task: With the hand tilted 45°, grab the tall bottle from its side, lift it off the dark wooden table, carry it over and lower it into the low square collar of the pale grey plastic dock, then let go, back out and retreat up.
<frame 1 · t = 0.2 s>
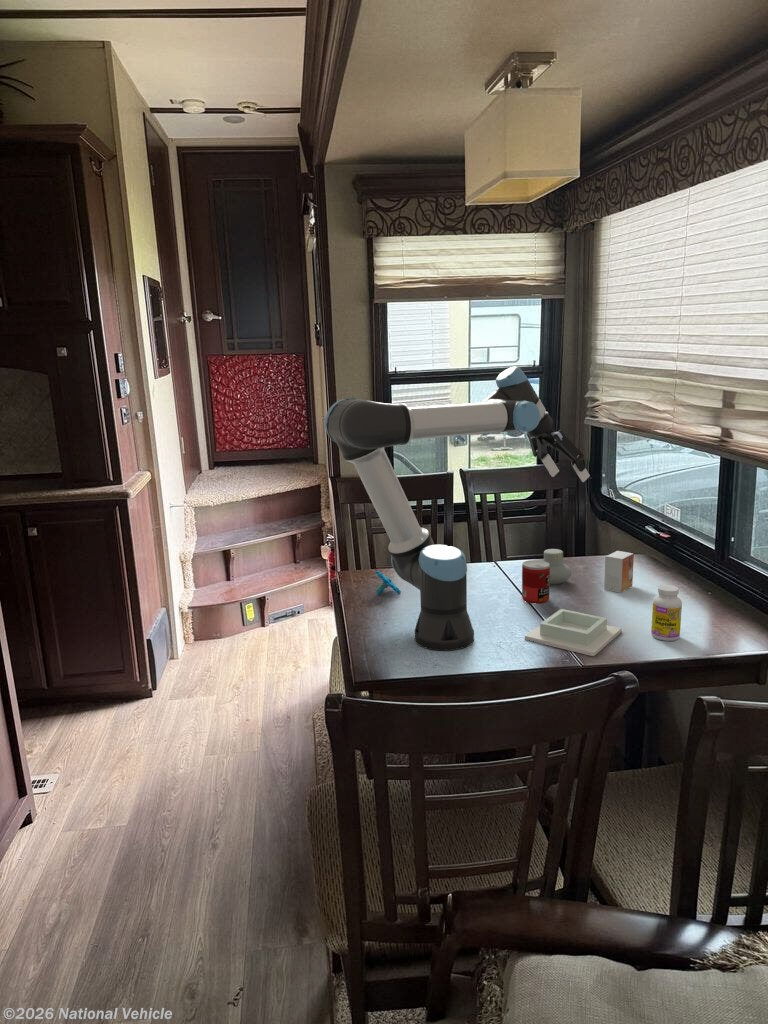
hand: (570, 476, 197), 36 cm above the table, tool tilted 35°, fingers open, 13 cm apart
canned food: (535, 600, 202), on the table
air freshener: (552, 582, 217), on the table
dock: (573, 635, 175), on the table
supplement bottle: (665, 637, 172), on the table
small box: (618, 588, 209), on the table
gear: (388, 594, 212), on the table
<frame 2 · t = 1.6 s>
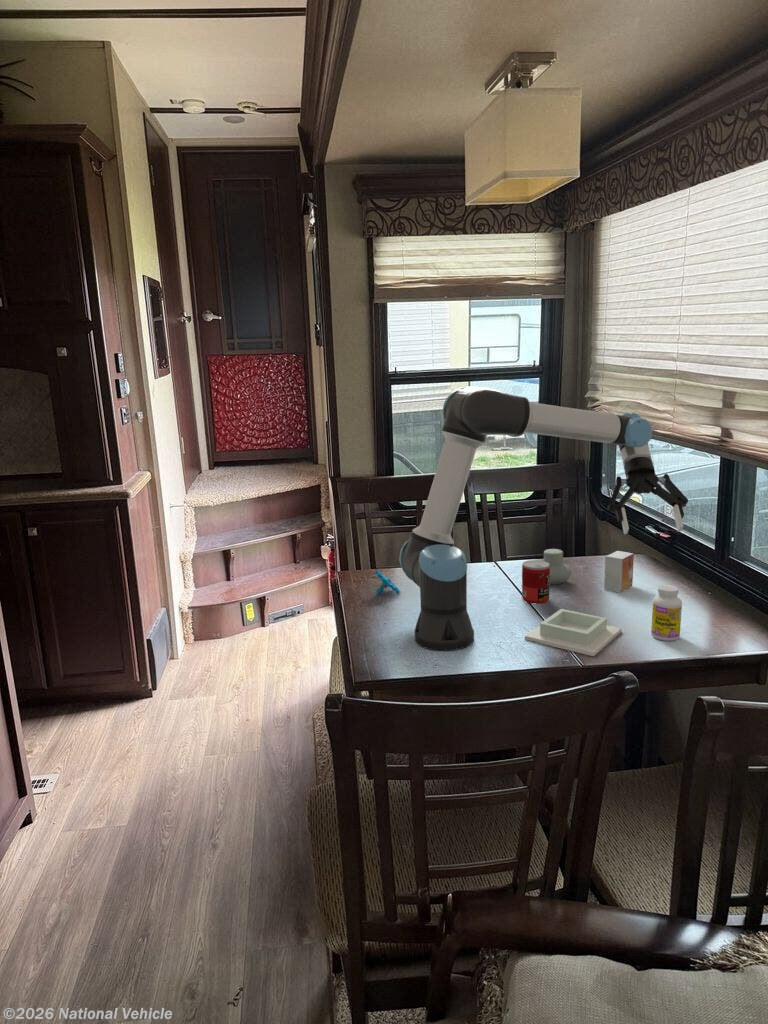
hand: (653, 530, 178), 25 cm above the table, tool tilted 45°, fingers open, 13 cm apart
nothing on the table moved.
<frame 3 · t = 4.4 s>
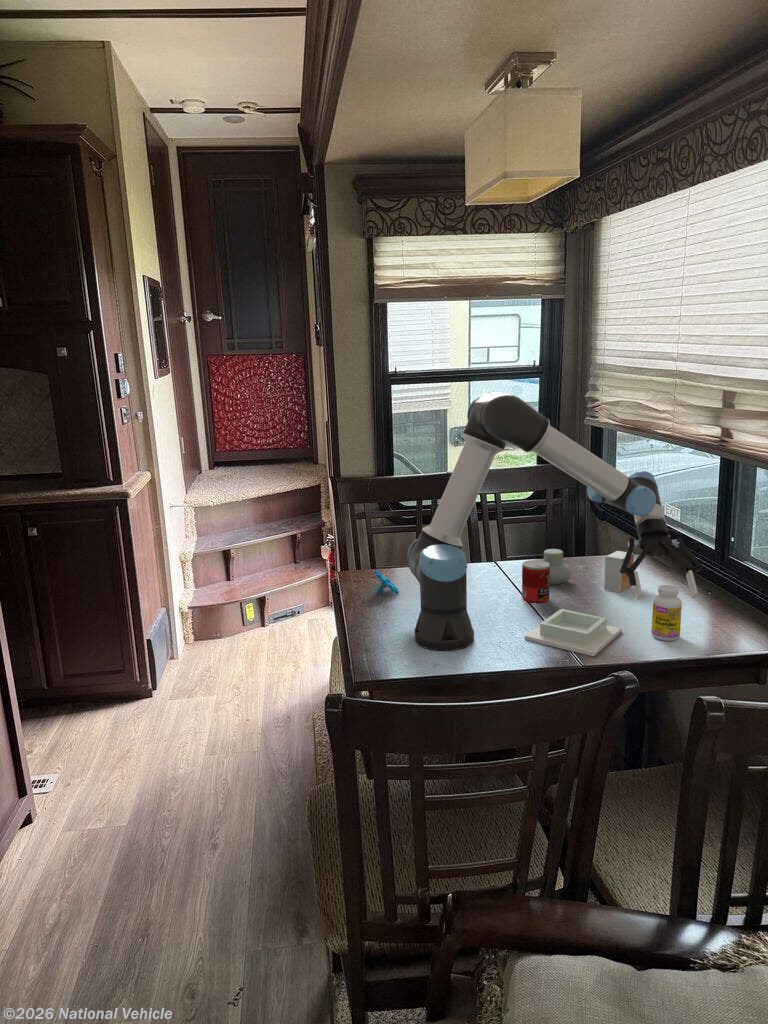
hand: (667, 596, 173), 9 cm above the table, tool tilted 45°, fingers open, 13 cm apart
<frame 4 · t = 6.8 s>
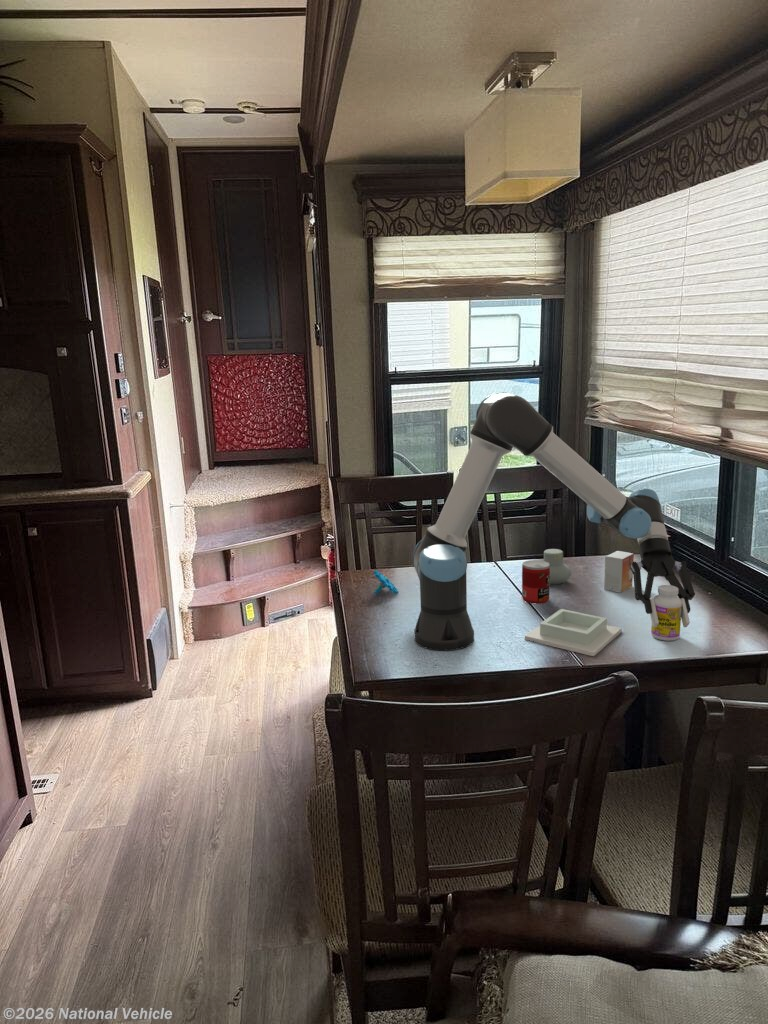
hand: (671, 625, 168), 4 cm above the table, tool tilted 45°, fingers closed on supplement bottle, 7 cm apart
supplement bottle: (665, 637, 172), on the table, touching gripper
everything else where it was.
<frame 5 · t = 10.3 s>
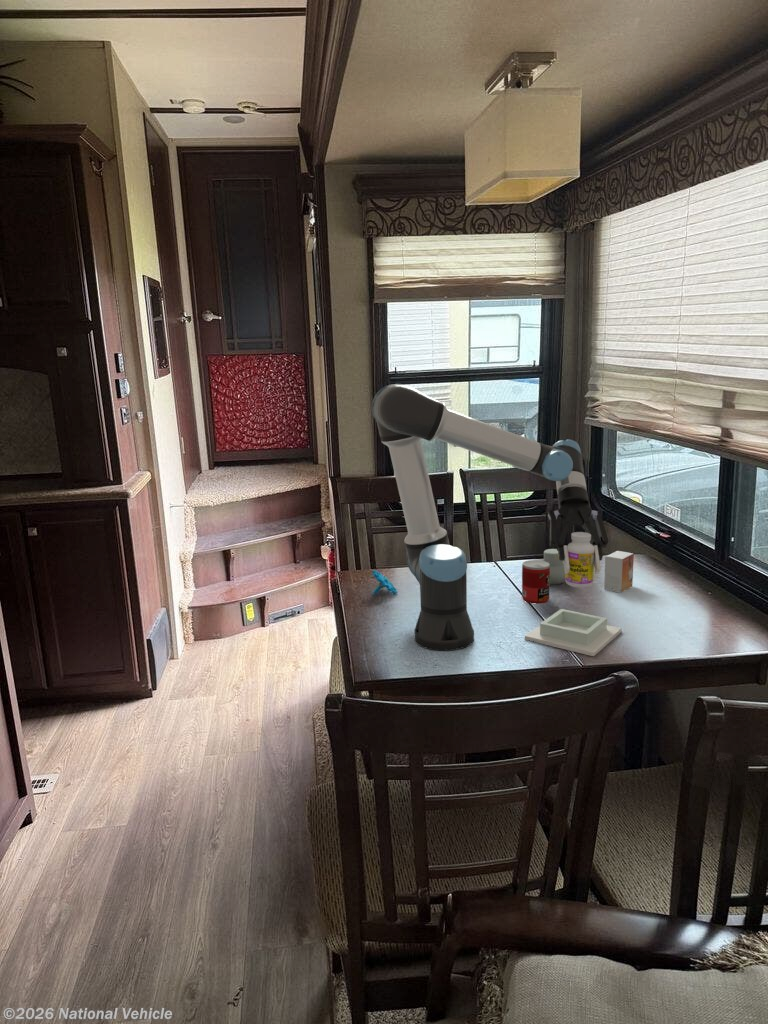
hand: (582, 571, 167), 18 cm above the table, tool tilted 45°, fingers closed on supplement bottle, 7 cm apart
supplement bottle: (579, 584, 172), point 14 cm above the table, touching gripper
when the fingers open (7 cm above the table, at t = 14.0 s): supplement bottle drops 1 cm, resting on dock.
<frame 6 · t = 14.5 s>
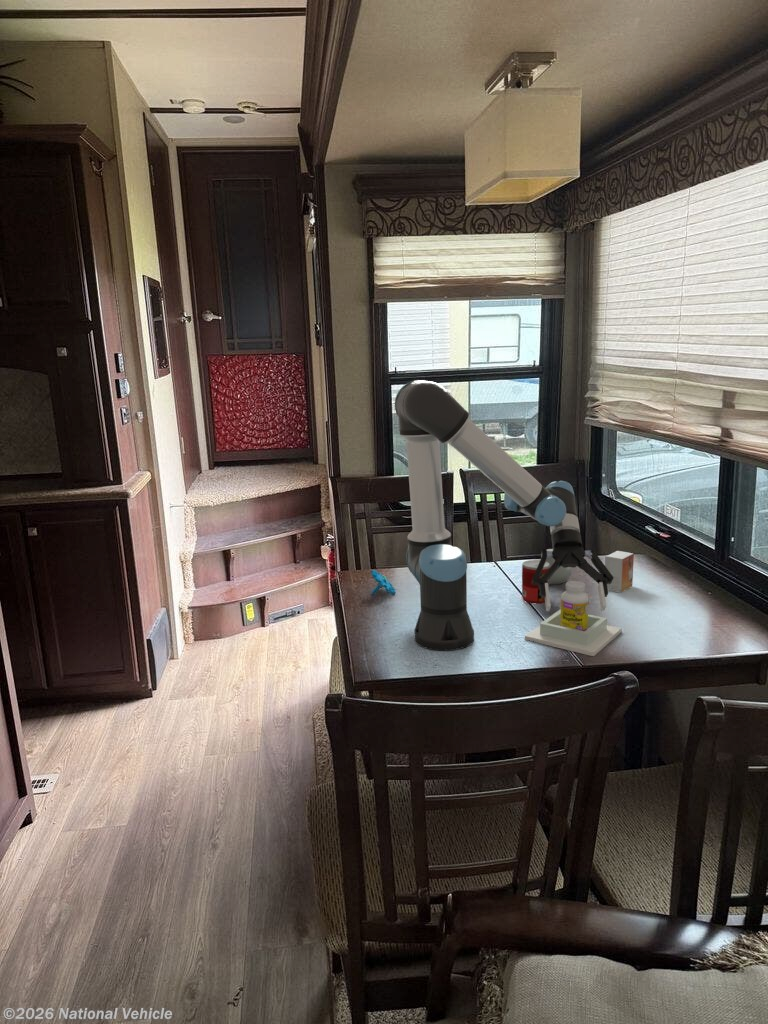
hand: (576, 608, 171), 8 cm above the table, tool tilted 45°, fingers open, 13 cm apart
supplement bottle: (573, 632, 175), point 1 cm above the table, touching dock
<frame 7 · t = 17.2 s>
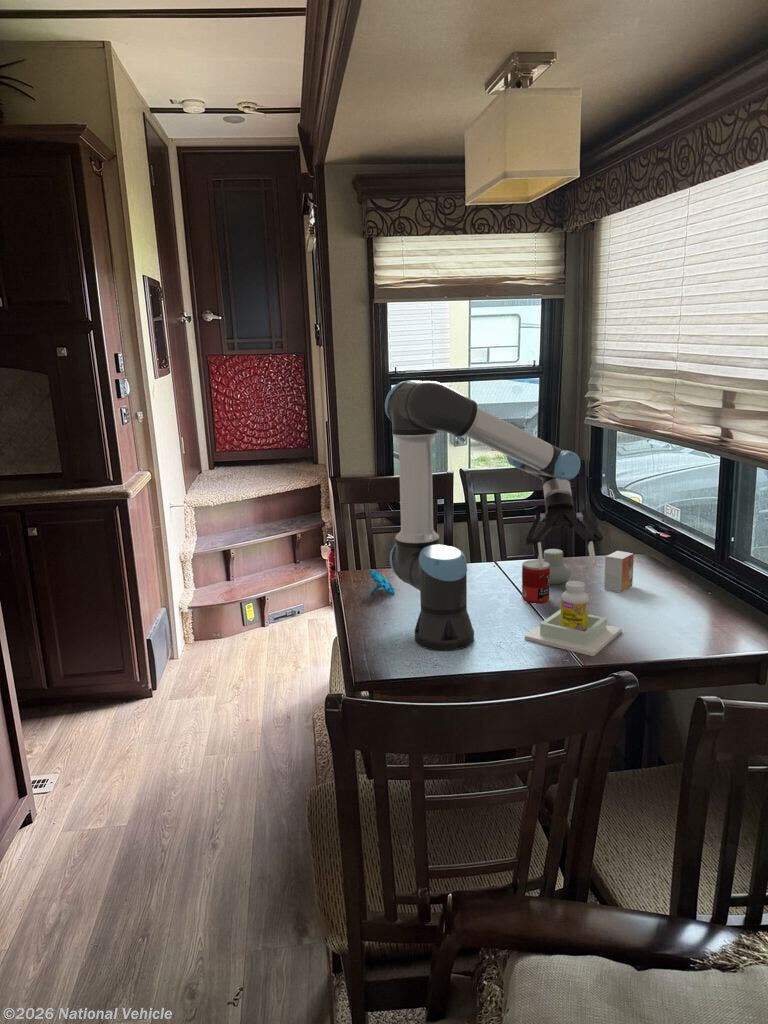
hand: (567, 566, 181), 16 cm above the table, tool tilted 45°, fingers open, 13 cm apart
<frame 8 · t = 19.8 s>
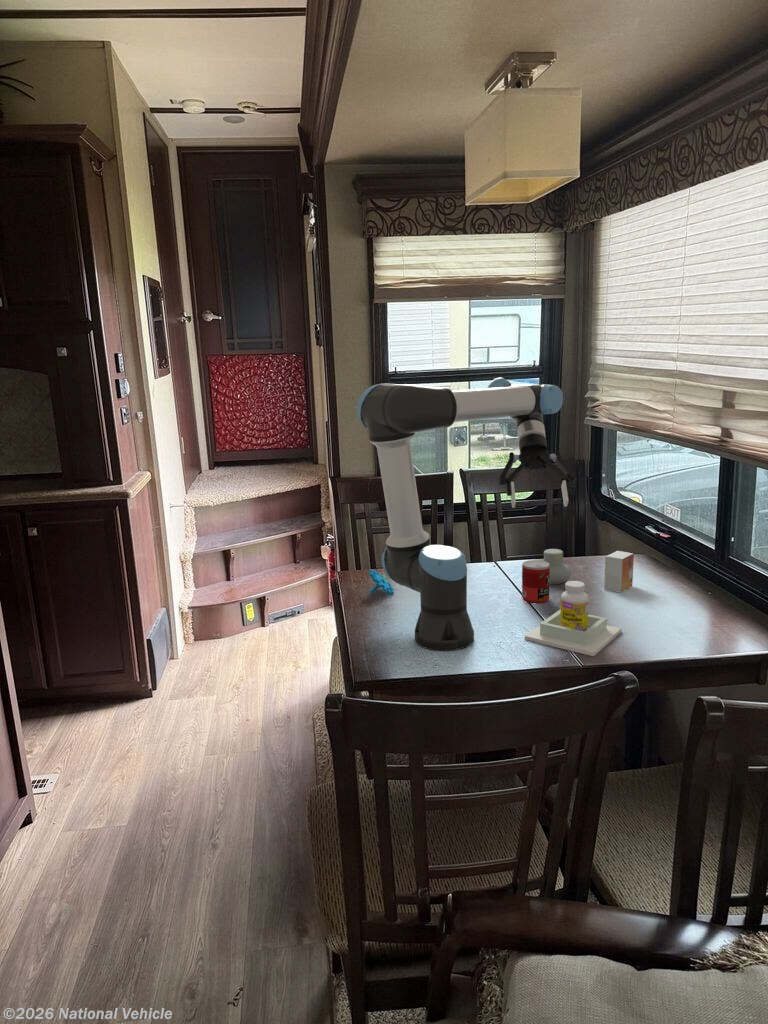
hand: (540, 504, 180), 32 cm above the table, tool tilted 45°, fingers open, 13 cm apart
at the end: supplement bottle 0.1 cm off-centre on the dock, point 0.8 cm above the dock's base; supplement bottle tilted 0°; the gripper is holding nothing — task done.
